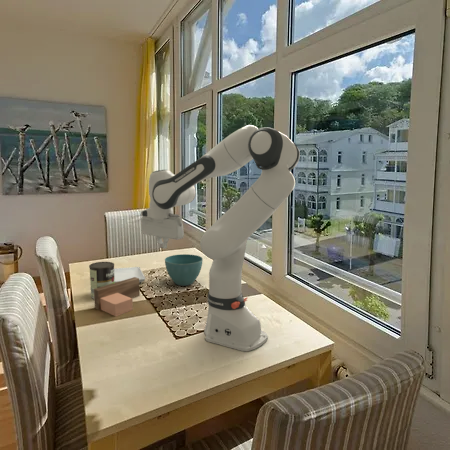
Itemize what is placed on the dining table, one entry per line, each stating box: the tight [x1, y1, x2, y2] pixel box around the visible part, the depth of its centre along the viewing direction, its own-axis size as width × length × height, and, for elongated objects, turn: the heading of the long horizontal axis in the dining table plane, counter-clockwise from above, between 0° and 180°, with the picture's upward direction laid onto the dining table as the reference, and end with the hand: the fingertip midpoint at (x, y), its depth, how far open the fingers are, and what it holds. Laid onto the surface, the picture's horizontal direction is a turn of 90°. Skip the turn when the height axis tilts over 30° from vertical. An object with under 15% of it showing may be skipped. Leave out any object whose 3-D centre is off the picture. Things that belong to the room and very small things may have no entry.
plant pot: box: [164, 253, 204, 287], centre depth 175 cm, size 18×18×12 cm
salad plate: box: [114, 266, 146, 284], centre depth 179 cm, size 21×21×3 cm
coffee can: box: [88, 261, 115, 299], centre depth 157 cm, size 10×10×14 cm
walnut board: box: [94, 277, 141, 311], centre depth 150 cm, size 3×20×8 cm, turn 142°
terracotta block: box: [100, 293, 134, 317], centre depth 143 cm, size 10×8×5 cm
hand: (162, 247), depth 139 cm, fingers closed
